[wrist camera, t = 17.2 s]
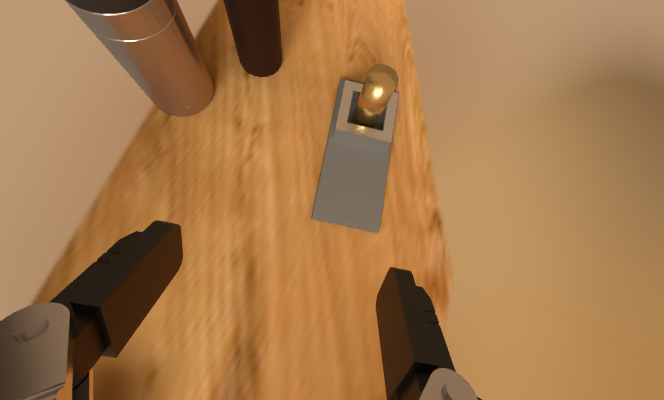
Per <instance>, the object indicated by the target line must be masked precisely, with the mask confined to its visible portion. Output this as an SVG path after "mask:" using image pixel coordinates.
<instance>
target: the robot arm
mask: <svg viewBox="0 0 664 400" xmlns="http://www.w3.org/2000/svg"><path fill="white" fill-rule="evenodd" d="M65 1H66V2H67V3H68V4H69V5H70V7H71V8H72V9H73V10H74V11H75V12H76V14H77V15H78V16H79V17H80V18H81V19H82V21H83V22H84V23H85V24H86V25H87V26H88V27H89V28H90V30H91V31H92V32H93V33H94V34H95V35H96V37H97V38H98V39H99V40H100V41H101V42H102V43H103V45H104V46H105V47H106V48H107V49H108V50H109V51H110V53H111V54H112V55H113V56H114V57H115V59H116V60H117V61H118V62H119V63H120V64H121V65H122V67H123V68H124V69H125V70H126V71H127V72H128V73H129V75H130V76H131V77H132V78H133V79H134V80H135V82H136V83H137V84H138V85H139V86H140V88H141V89H142V90H143V91H144V92H145V93H146V95H147V96H148V97H149V98H150V99H151V100H152V101H153V103H154V104H155V105H156V106H157V107H158V108H159V109H161V110H162V111H163V112H165V113H168V114H170V115H175V116H187V115H192V114H195V113H197V112H199V111H201V110H202V109H204V108H205V107H206V106H207V105H208V104H209V102H210V101H211V99H212V97H213V94H214V84H213V81H212V78H211V76H210V74H209V72H208V69H207V67H206V65H205V62H204V60H203V58H202V56H201V53H200V51H199V49H198V47H197V44H196V42H195V40H194V38H193V35H192V33H191V31H190V29H189V26H188V24H187V22H186V20H185V17H184V15H183V13H182V11H181V8H180V6H179V4H178V2H177V0H65ZM182 259H183V250H182V236H181V227H180V225H178V224H173V223H168V222H163V221H158V220H157V221H154V222H153V223H152V224H151V225H150V226H148V227H147V228H146V229H145V230H144V231H143V232H138V231H136V232H134V233H132V234H130V235H128V236H126V237H124V238H122V239H120V240H119V241H117V242H116V243H115V244H114V245H113V246H112V247H111V248H110V249H108V251H107V253H104V254H103V255H102V256H101V257H100V258H98V259H97V262H94V263H93V264H92V265H91V266H89V267H88V268H87V269H86V270H85V271H84V272H83V273H82V274H81V275H79V276H78V277H77V278H76V279H75V280H74V281H73V282H72V283H70V284H69V285H68V286H67V287H66V288H65V289H64V290H63V291H62V292H60V293H59V294H58V295H57V296H56V297H55V298H54V299H52V300H51V301H50V302H49V303H40V304H35V305H32V306H28V307H26V308H23V309H21V310H19V311H17V312H14V313H13V314H11V315H9V316H8V317H6V318H5V319H3V320H2V321H0V400H93V368H92V367H93V366H94V365H95V363H96V362H97V361H98V359H99V358H100V357H101V356H108V357H114V358H116V357H117V356H118V355H119V353H120V352H121V350H122V349H123V348H124V346H125V345H126V343H127V342H128V341H129V339H130V338H131V336H132V335H133V334H134V332H135V331H136V329H137V328H138V327H139V325H140V324H141V322H142V321H143V320H144V318H145V317H146V315H147V314H148V313H149V311H150V310H151V308H152V307H153V306H154V304H155V303H156V301H157V300H158V299H159V297H160V296H161V294H162V293H163V292H164V290H165V289H166V287H167V286H168V285H169V283H170V282H171V280H172V279H173V278H174V276H175V275H176V273H177V272H178V270H179V268H180V266H181V263H182ZM376 313H377V321H378V329H379V337H380V345H381V354H382V362H383V370H384V378H385V387H386V395H387V400H482V399H480V398H478V397H477V396H476V394H475V392H474V390H473V389H472V387H471V386H470V385H469V383H468V382H467V381H466V380H465V379H464V378H463V377H462V376H461V375H459V374H458V373H456V371H455V369H454V366H453V363H452V360H451V357H450V354H449V351H448V348H447V345H446V342H445V339H444V336H443V333H442V330H441V328H440V326H439V322H438V319H437V316H436V315H435V310H434V307H433V304H432V301H431V299H430V297H429V296H428V294H427V293H426V292H425V290H424V289H423V288H422V287H419V286H416V285H415V281H414V278H413V275H412V272H411V271H408V270H403V269H398V268H393V267H391V268H390V269H389V271H388V273H387V275H386V277H385V279H384V281H383V284H382V286H381V288H380V290H379V292H378V295H377V300H376Z"/></svg>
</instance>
